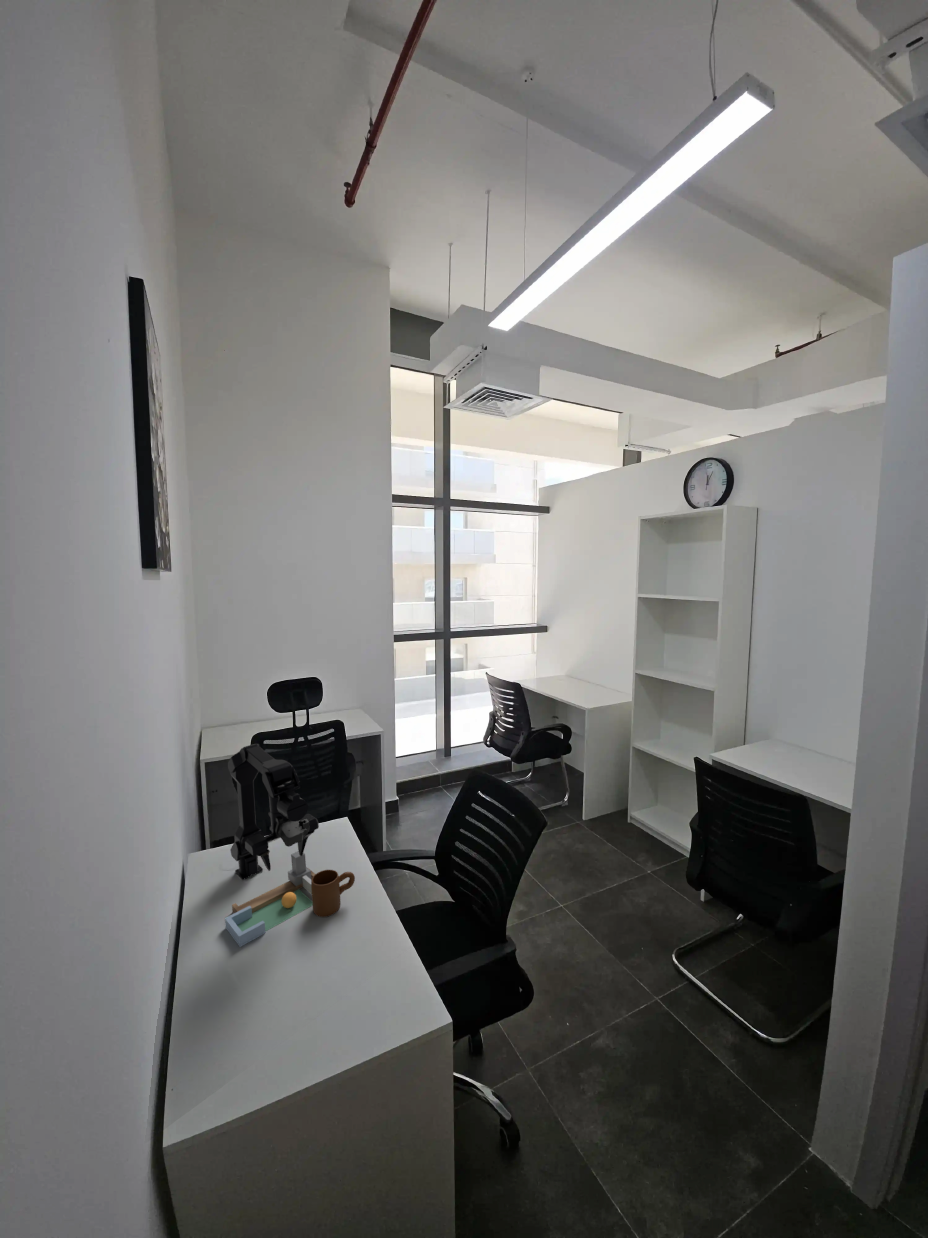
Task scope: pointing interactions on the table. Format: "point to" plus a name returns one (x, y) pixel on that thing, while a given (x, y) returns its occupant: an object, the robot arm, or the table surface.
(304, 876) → the kicker
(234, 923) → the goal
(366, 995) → the table surface
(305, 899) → the pitch mat
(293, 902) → the ball
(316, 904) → the mug
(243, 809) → the robot arm
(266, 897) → the rail
